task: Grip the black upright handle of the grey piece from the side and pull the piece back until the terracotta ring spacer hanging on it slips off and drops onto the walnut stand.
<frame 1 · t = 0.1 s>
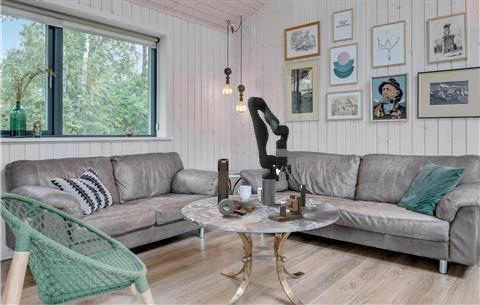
hand: (282, 181, 231), 17 cm above the table, tool pointing down, fingers open, 8 cm apart
donut: (226, 216, 209), on the table
shaft stand: (289, 217, 207), on the table
grey piece: (293, 196, 208), point 11 cm above the table, slide at 0.0 cm, touching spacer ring
decorative book: (223, 202, 248), on the table
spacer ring: (291, 209, 208), point 4 cm above the table, touching grey piece
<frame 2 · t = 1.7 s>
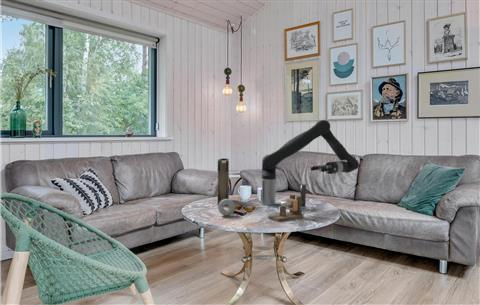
hand: (316, 169, 218), 26 cm above the table, tool horizontal, fingers open, 8 cm apart
nothing on the table moved.
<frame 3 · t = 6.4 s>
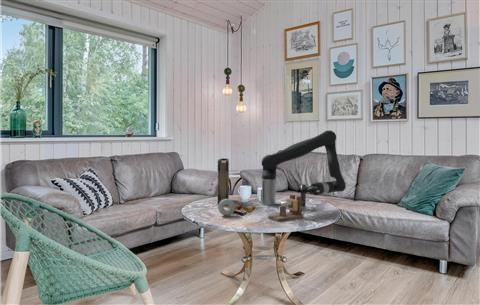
hand: (299, 191, 210), 14 cm above the table, tool horizontal, fingers closed on grey piece, 3 cm apart
grey piece: (293, 196, 208), point 11 cm above the table, slide at 0.0 cm, touching gripper, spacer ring
everything else where it was.
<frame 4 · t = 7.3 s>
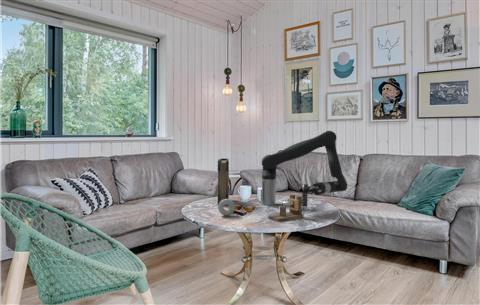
hand: (301, 190, 211), 14 cm above the table, tool horizontal, fingers closed on grey piece, 3 cm apart
grey piece: (295, 196, 209), point 12 cm above the table, slide at 1.4 cm, touching gripper, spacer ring
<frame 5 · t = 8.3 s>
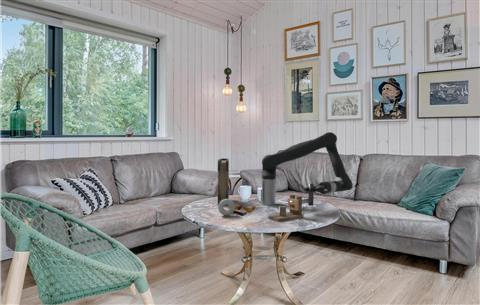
hand: (307, 189, 214), 14 cm above the table, tool horizontal, fingers closed on grey piece, 3 cm apart
grey piece: (301, 195, 212), point 11 cm above the table, slide at 6.8 cm, touching gripper
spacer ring: (293, 209, 208), point 4 cm above the table, touching shaft stand
everything else where it was.
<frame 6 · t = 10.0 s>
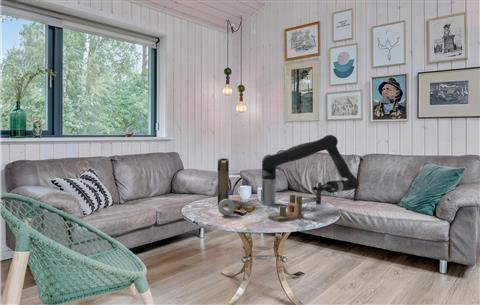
hand: (315, 188, 218), 15 cm above the table, tool horizontal, fingers closed on grey piece, 3 cm apart
grey piece: (309, 194, 216), point 11 cm above the table, slide at 13.4 cm, touching gripper
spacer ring: (293, 214, 208), point 1 cm above the table, touching shaft stand
everything else where it was.
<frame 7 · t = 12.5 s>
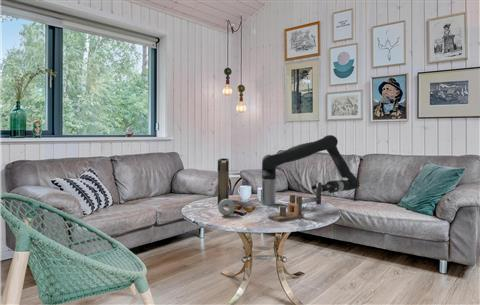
hand: (317, 188, 219), 15 cm above the table, tool horizontal, fingers open, 8 cm apart
grey piece: (309, 194, 216), point 11 cm above the table, slide at 13.5 cm
everything else where it was.
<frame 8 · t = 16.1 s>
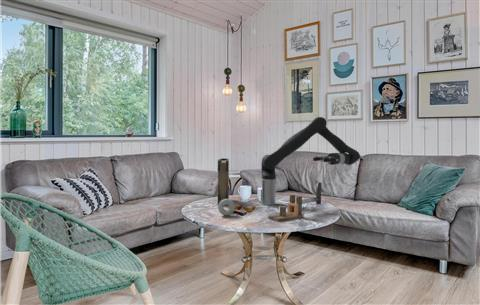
hand: (318, 159, 221), 32 cm above the table, tool horizontal, fingers open, 8 cm apart
nothing on the table moved.
at the end: grey piece slide at 13.5 cm; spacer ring point 1.5 cm above the table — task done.
